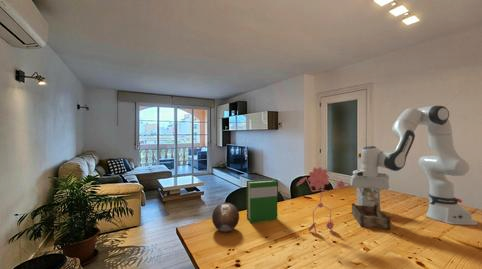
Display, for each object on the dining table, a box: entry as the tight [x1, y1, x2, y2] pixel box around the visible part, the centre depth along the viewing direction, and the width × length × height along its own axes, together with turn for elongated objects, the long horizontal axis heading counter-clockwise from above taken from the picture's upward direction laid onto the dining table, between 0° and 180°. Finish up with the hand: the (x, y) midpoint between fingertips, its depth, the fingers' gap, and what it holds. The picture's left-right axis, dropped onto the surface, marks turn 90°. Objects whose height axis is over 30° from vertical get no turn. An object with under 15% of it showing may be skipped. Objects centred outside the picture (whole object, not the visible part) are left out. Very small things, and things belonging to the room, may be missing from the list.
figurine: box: [295, 166, 346, 236], centre depth 117 cm, size 15×26×35 cm, turn 96°
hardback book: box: [246, 178, 278, 224], centre depth 131 cm, size 18×7×24 cm, turn 105°
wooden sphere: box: [211, 202, 240, 232], centre depth 116 cm, size 15×15×15 cm
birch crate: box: [361, 188, 379, 202], centre depth 127 cm, size 6×12×5 cm, turn 165°
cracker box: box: [356, 188, 381, 210], centre depth 144 cm, size 14×6×21 cm, turn 100°
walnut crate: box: [351, 202, 391, 231], centre depth 127 cm, size 15×21×7 cm
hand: (369, 195), depth 127 cm, fingers closed on birch crate, 6 cm apart
